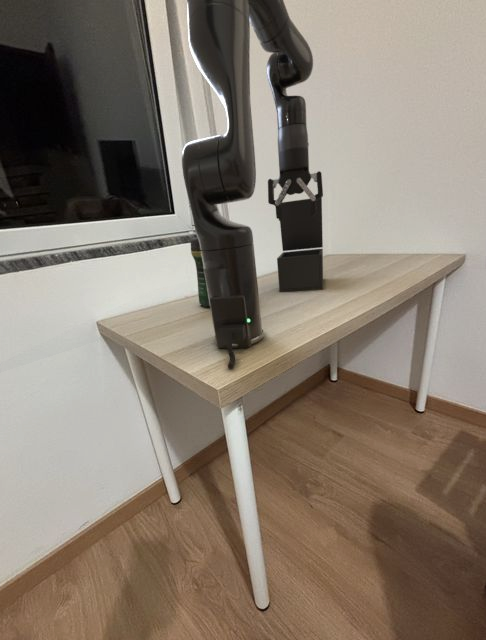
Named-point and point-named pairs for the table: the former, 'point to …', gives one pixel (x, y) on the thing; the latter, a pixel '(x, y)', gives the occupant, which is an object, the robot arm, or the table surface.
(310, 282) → the black open box
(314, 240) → the lid
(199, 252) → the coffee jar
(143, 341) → the table surface
